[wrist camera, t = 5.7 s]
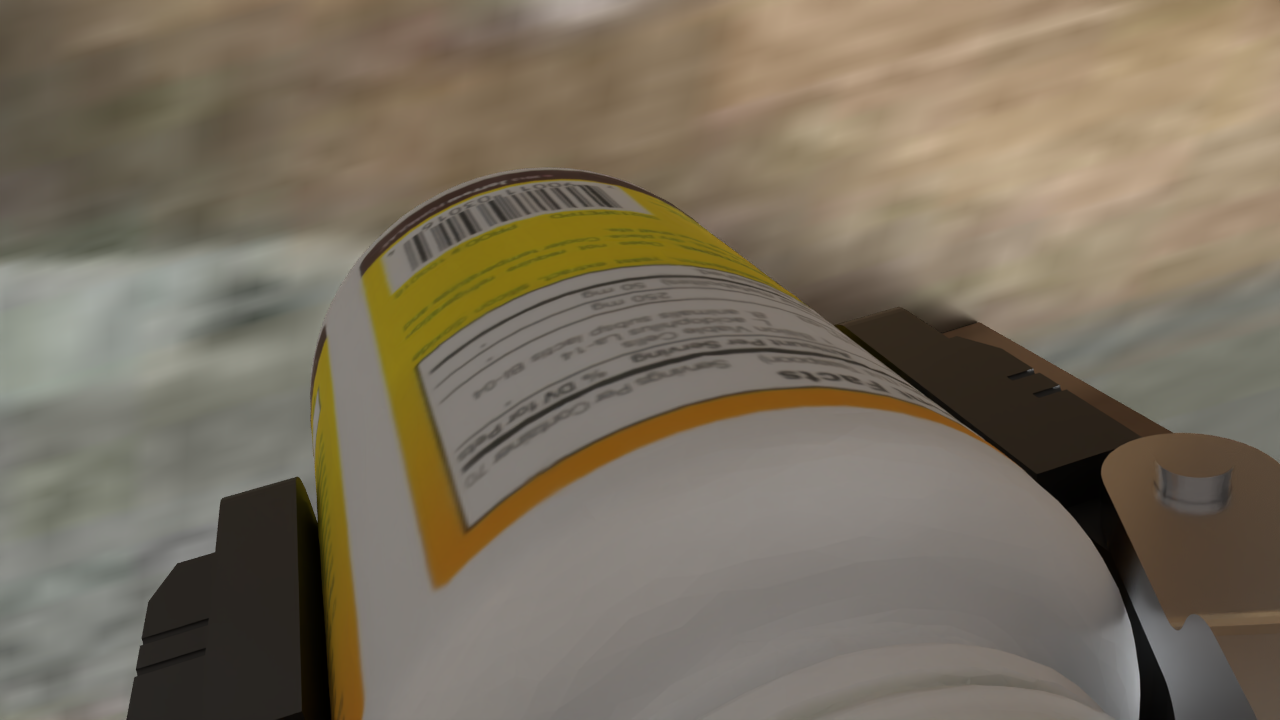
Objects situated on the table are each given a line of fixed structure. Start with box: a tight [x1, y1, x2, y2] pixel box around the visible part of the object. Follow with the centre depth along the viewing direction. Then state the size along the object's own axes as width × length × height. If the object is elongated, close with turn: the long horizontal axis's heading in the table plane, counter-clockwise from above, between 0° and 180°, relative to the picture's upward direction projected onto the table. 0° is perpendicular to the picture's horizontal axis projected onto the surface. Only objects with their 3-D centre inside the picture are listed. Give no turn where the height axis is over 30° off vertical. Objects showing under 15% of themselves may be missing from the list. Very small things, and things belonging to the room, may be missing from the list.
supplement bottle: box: [310, 168, 1140, 720], centre depth 10 cm, size 6×6×10 cm
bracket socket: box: [942, 322, 1172, 437], centre depth 27 cm, size 12×15×10 cm
